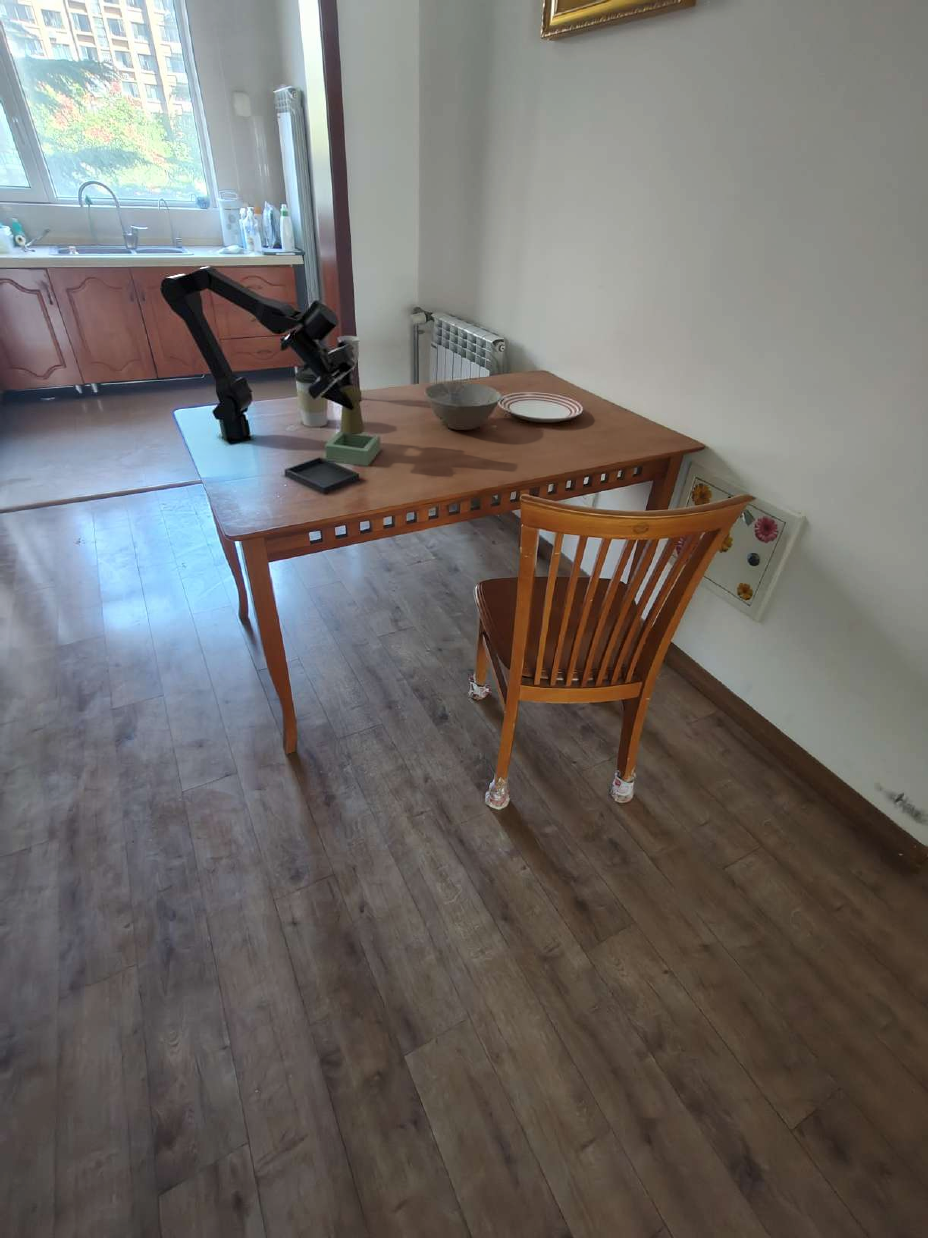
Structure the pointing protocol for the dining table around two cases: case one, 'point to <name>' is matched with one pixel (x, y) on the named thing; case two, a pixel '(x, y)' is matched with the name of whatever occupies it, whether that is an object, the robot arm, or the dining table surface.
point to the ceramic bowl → (462, 403)
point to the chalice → (354, 343)
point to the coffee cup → (310, 400)
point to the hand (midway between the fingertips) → (356, 405)
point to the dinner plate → (540, 407)
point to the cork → (352, 412)
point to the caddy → (353, 448)
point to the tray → (322, 475)
